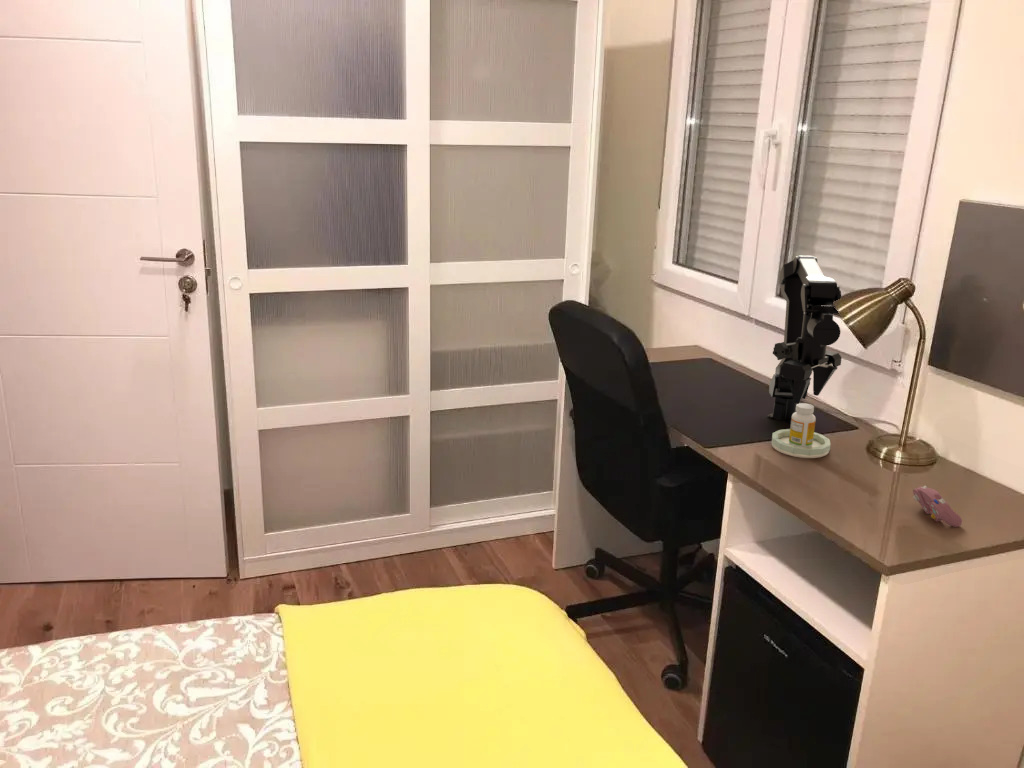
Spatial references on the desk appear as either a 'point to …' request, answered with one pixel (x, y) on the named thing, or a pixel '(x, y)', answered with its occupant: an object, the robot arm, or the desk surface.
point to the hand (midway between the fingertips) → (806, 399)
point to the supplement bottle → (802, 426)
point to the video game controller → (936, 506)
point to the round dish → (815, 451)
